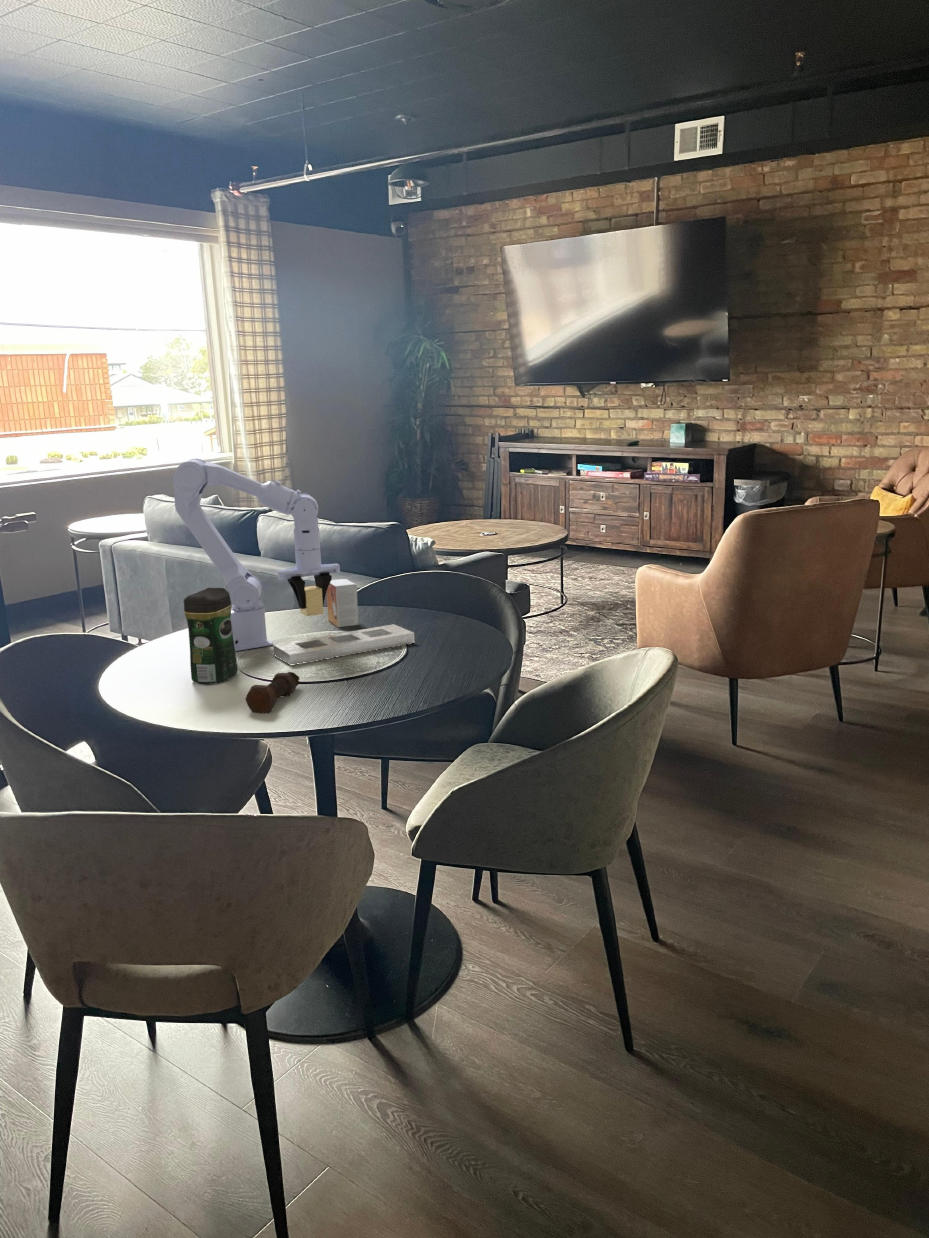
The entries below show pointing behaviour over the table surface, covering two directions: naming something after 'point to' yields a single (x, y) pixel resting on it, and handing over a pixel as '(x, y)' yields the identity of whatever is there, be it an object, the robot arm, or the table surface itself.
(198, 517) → the robot arm
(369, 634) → the board
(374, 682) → the table surface
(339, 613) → the small box
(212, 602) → the coffee jar
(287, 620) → the table surface
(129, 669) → the table surface
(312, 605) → the block
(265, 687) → the bolt
